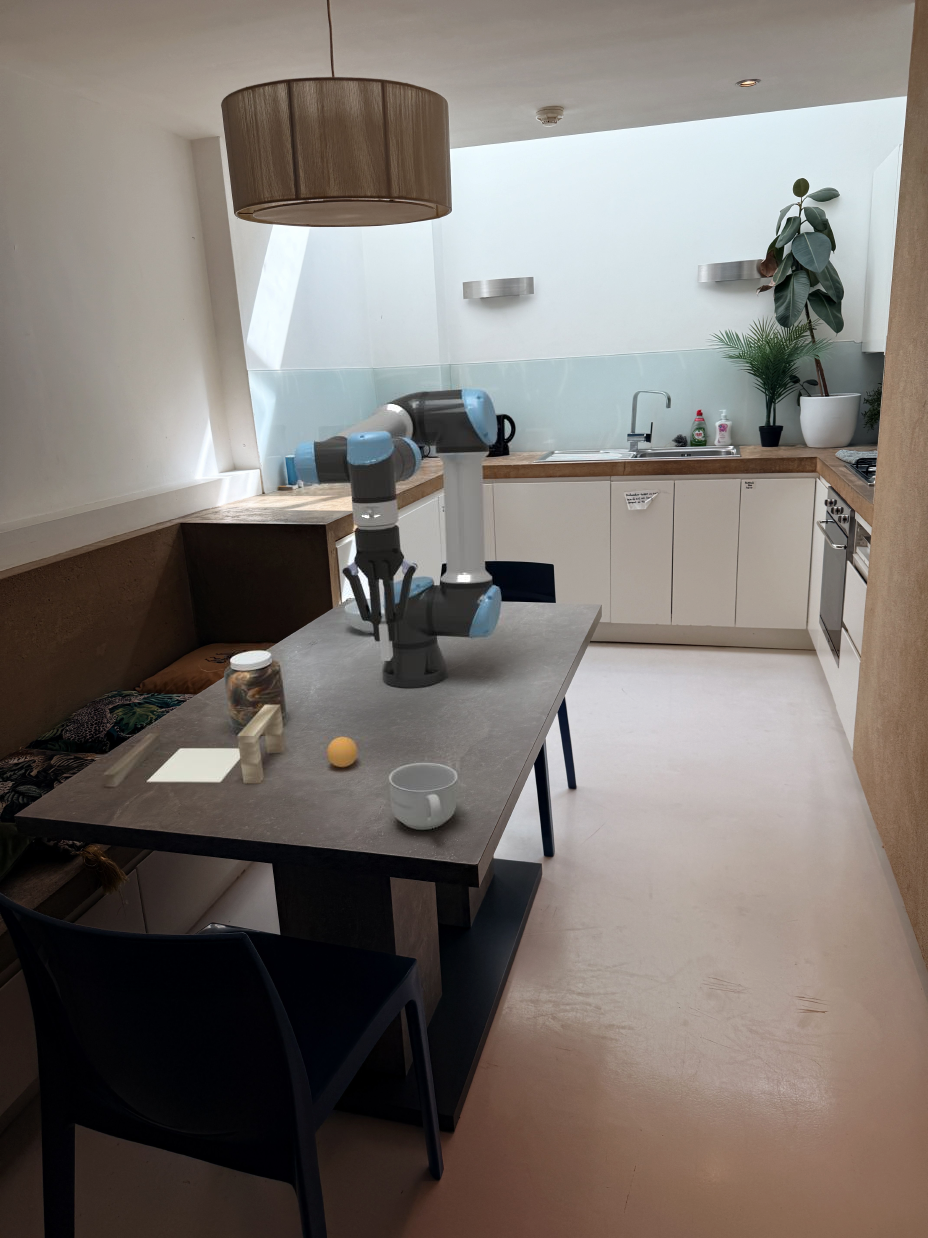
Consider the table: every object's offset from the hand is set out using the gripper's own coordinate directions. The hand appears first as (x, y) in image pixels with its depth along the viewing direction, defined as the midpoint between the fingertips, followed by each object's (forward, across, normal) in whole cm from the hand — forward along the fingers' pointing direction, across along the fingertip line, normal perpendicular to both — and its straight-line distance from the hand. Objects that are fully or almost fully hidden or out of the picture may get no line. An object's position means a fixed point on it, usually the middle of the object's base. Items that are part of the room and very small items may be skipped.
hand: (387, 658), depth 153 cm
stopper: (+21, -51, 0) cm, 55 cm away
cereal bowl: (+21, -23, +86) cm, 92 cm away
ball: (+18, -10, 0) cm, 21 cm away
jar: (+21, -33, +19) cm, 44 cm away
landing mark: (+21, -38, 0) cm, 43 cm away
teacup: (+21, +9, -21) cm, 31 cm away
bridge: (+21, -25, 0) cm, 33 cm away
